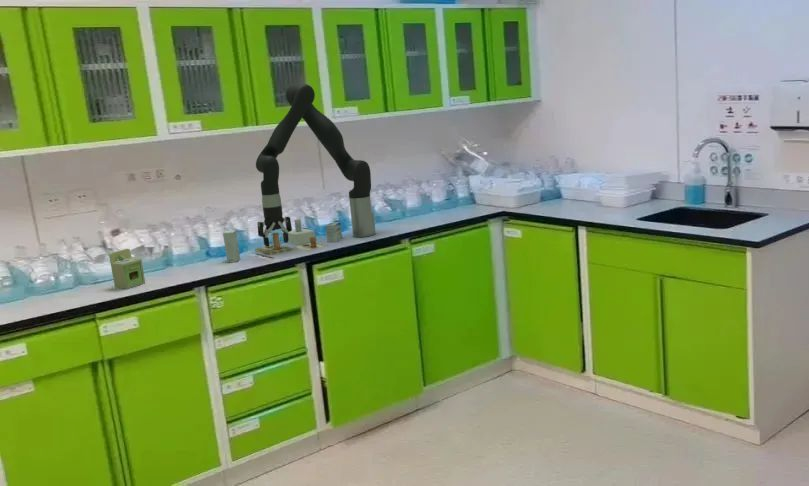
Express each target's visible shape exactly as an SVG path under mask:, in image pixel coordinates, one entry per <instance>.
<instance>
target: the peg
mask: <svg viewBox="0 0 809 486" xmlns="http://www.w3.org/2000/svg"><path fill="white" fill-rule="evenodd" d="M272 241H273V245H274V250H279V249H280V245H281V244H280V236H279V232H273V233H272Z"/></svg>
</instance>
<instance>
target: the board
mask: <svg viewBox="0 0 809 486" xmlns="http://www.w3.org/2000/svg"><path fill="white" fill-rule="evenodd" d="M324 247H328V244H323V243H317V238H316V236H315V237H310V242H309V243H305V244H300V245H294V246H293V249H294V248H295V249H299V250H303V251H310V250H316V249H319V248H320V249H321V248H324Z"/></svg>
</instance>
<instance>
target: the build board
mask: <svg viewBox="0 0 809 486" xmlns="http://www.w3.org/2000/svg"><path fill="white" fill-rule="evenodd" d="M254 251H255V252H256V253H255V255H256V256H260V257H265V258H268V259H274V257H272V256H273V255H278V254H282V253H287V252H292V251H294V247H293V246H287V245H283V244H280V249H279V250H274V244H269V247H266V246H265V245H264V246H260V247H256V248H254ZM257 252H258V253H257ZM260 253H262V254H260ZM264 254H266V255H264ZM269 255H270V256H269Z"/></svg>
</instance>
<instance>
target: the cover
mask: <svg viewBox="0 0 809 486" xmlns="http://www.w3.org/2000/svg"><path fill="white" fill-rule="evenodd" d="M294 227H295V229H292V231H290V232H288V238H289V240H288V242H287V243H286V244H291V245H294V246H299V245H303V244H308V243H310V237H316V232H315V230H312V229H307V228H302V221H301V218H299V219H294Z"/></svg>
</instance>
